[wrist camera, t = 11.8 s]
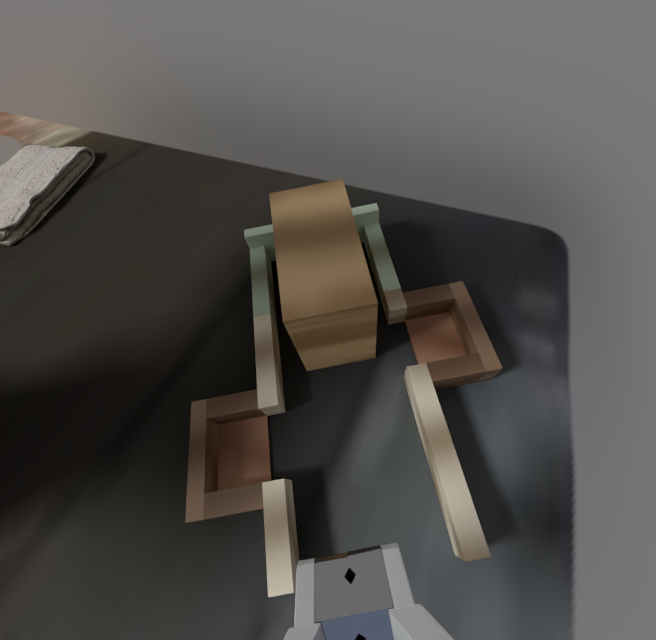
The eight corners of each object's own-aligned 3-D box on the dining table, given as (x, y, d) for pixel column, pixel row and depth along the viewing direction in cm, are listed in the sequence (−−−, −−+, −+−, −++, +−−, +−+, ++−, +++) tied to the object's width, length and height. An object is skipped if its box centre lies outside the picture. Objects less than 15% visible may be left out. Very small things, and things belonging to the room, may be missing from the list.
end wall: (378, 239, 34) (379, 210, 30) (257, 264, 34) (244, 237, 31) (375, 233, 34) (376, 203, 31) (256, 257, 35) (244, 230, 31)
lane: (559, 536, 20) (582, 540, 18) (200, 601, 21) (180, 613, 19) (426, 230, 34) (430, 211, 32) (209, 274, 34) (198, 258, 32)
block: (375, 358, 28) (377, 302, 20) (307, 371, 28) (282, 321, 20) (348, 253, 34) (342, 178, 26) (292, 264, 34) (269, 193, 26)
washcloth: (-48, 240, 43) (-76, 223, 40) (40, 155, 51) (22, 136, 48) (20, 251, 40) (-5, 233, 37) (101, 159, 48) (86, 139, 45)
